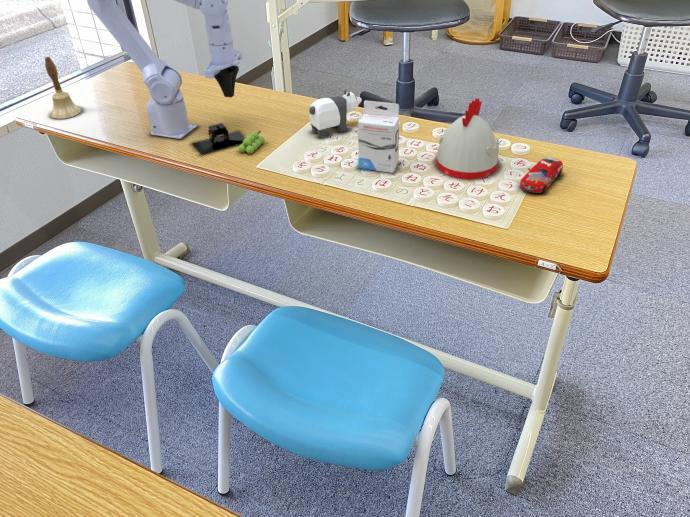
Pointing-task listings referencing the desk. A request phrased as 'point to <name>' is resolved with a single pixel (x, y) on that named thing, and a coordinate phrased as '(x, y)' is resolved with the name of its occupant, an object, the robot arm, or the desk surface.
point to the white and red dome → (468, 147)
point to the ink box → (379, 137)
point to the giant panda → (332, 112)
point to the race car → (542, 175)
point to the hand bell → (60, 95)
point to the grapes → (251, 143)
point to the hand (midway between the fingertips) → (229, 96)
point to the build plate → (218, 139)
